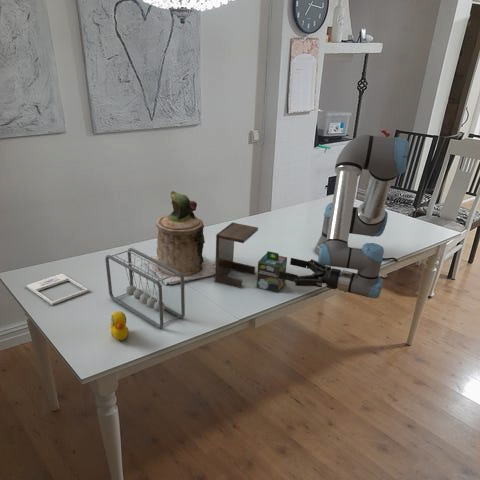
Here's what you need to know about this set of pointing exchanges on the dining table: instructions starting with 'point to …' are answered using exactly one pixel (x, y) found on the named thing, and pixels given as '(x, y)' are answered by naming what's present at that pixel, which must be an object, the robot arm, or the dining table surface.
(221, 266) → the walnut rack
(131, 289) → the newton's cradle
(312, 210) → the dining table surface
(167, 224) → the cookie jar
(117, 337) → the duckling
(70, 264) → the dining table surface
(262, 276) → the chalk box
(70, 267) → the dining table surface
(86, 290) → the photo frame
